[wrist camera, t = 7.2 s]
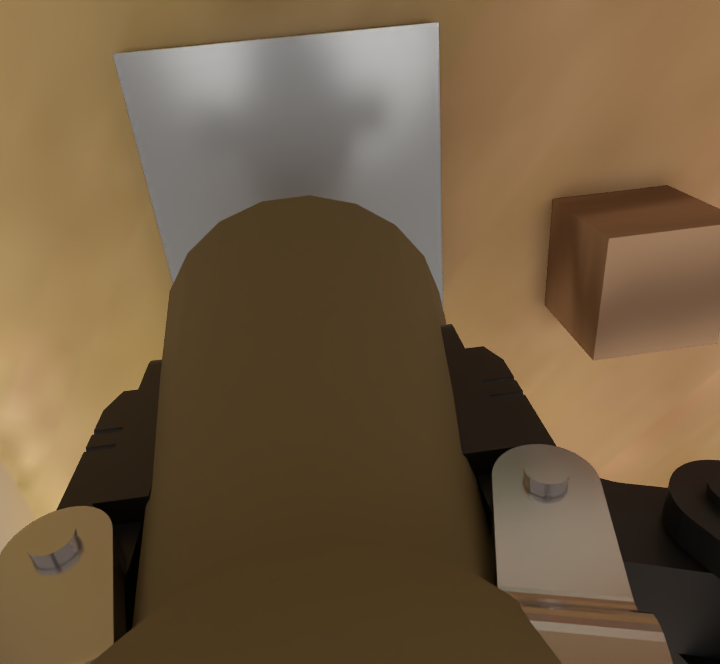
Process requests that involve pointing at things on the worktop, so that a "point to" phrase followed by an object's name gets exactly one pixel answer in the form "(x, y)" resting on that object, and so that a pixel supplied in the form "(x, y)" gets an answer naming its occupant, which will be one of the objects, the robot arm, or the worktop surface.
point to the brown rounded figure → (313, 460)
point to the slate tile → (290, 129)
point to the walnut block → (635, 271)
